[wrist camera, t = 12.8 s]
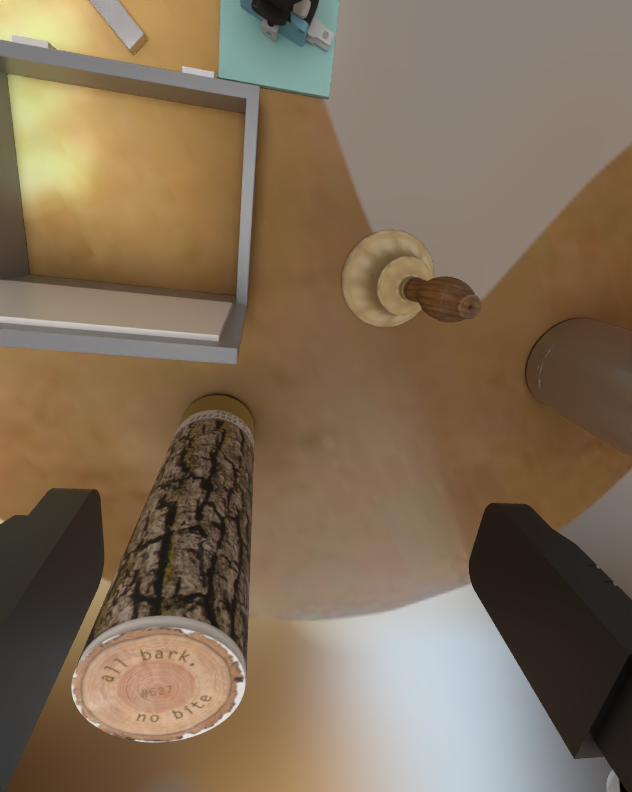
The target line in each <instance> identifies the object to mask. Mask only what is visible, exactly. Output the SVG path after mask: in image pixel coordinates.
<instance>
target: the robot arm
mask: <svg viewBox="0 0 632 792" xmlns="http://www.w3.org/2000/svg"><path fill="white" fill-rule="evenodd" d="M526 380H527V384H528V387H529V389H530V391H531V393H532V395H533V396H534V397H535V398H536V399H537V400H539V401H540V402H542V403H543V404H545V405H547V406H548V407H550V408H551V409H553V410H555V411H556V412H558V413H560V414H561V415H563V416H564V417H566V418H567V419H569V420H570V421H572V422H574V423H575V424H577V425H579V426H580V427H582V428H583V429H585V430H587V431H588V432H590V433H592V434H593V435H595V436H596V437H598V438H600V439H601V440H603V441H605V442H606V443H608V444H609V445H611V446H613V447H614V448H616V449H618V450H619V451H621V452H622V453H624V454H626V455H627V456H629V457H631V458H632V330H628V329H625V328H622V327H618V326H614V325H611V324H607V323H603V322H600V321H596V320H592V319H586V318H577V319H571V320H568V321H565V322H562V323H560V324H558V325H557V326H555V327H553V328H552V329H551V330H549V331H548V332H547V333H545V334H544V336H543V337H542V338H541V339H540V340H539V341H538V342H537V344H536V345H535V347H534V349H533V350H532V352H531V355H530V357H529V360H528V364H527V369H526ZM103 566H104V542H103V528H102V514H101V501H100V495H99V492H98V491H97V490H95V489H64V488H53V489H50V490H49V491H48V492H47V493H46V494H45V496H44V497H43V498H42V499H41V500H40V502H39V503H38V504H37V505H36V507H35V508H34V509H33V510H32V511H31V513H30V514H29V515H28V516H27V515H14V516H13V517H11V518H10V519H8V520H6V521H5V522H3V523H2V524H0V792H5V790H6V788H7V786H8V784H9V781H10V779H11V777H12V775H13V772H14V771H15V768H16V766H17V764H18V761H19V760H20V757H21V755H22V753H23V751H24V748H25V747H26V744H27V742H28V740H29V738H30V736H31V733H32V731H33V729H34V727H35V724H36V722H37V720H38V718H39V716H40V714H41V712H42V709H43V707H44V705H45V703H46V701H47V698H48V696H49V694H50V692H51V690H52V688H53V685H54V683H55V681H56V679H57V677H58V674H59V672H60V670H61V668H62V666H63V664H64V661H65V659H66V657H67V655H68V653H69V650H70V648H71V646H72V644H73V641H74V640H75V637H76V635H77V633H78V631H79V629H80V626H81V624H82V622H83V620H84V618H85V615H86V613H87V611H88V609H89V607H90V605H91V602H92V600H93V598H94V596H95V594H96V592H97V589H98V587H99V584H100V580H101V577H102V572H103ZM469 575H470V580H471V583H472V586H473V588H474V590H475V592H476V593H477V595H478V597H479V599H480V600H481V602H482V604H483V605H484V607H485V609H486V610H487V612H488V614H489V616H490V617H491V619H492V621H493V622H494V624H495V626H496V627H497V629H498V630H499V632H500V634H501V636H502V637H503V639H504V641H505V643H506V644H507V646H508V648H509V649H510V651H511V653H512V654H513V656H514V658H515V659H516V661H517V663H518V665H519V666H520V668H521V670H522V671H523V673H524V675H525V676H526V678H527V680H528V681H529V683H530V685H531V687H532V688H533V690H534V692H535V693H536V695H537V696H538V698H539V700H540V702H541V703H542V705H543V707H544V708H545V710H546V712H547V713H548V715H549V717H550V719H551V720H552V722H553V724H554V725H555V727H556V729H557V730H558V732H559V734H560V735H561V737H562V739H563V741H564V742H565V744H566V746H567V747H568V749H569V751H570V752H571V754H572V756H573V757H574V759H580V758H593V757H605V758H606V760H607V761H608V763H609V765H610V766H611V768H612V771H611V773H610V774H609V776H608V780H607V792H632V600H631V599H630V598H629V597H628V596H627V595H626V594H625V593H624V592H623V591H622V590H621V589H620V588H619V587H618V586H614V584H613V581H612V580H611V579H610V578H609V577H608V576H607V575H606V574H605V573H604V572H603V571H602V570H601V569H597V567H596V564H595V563H594V562H593V561H592V560H591V559H590V558H589V557H588V556H587V555H586V554H585V553H584V552H583V551H582V550H581V549H580V548H579V547H578V546H577V545H576V544H574V543H573V542H572V541H570V540H569V539H567V538H566V537H564V536H562V535H561V534H560V533H558V532H557V531H555V530H553V529H552V528H551V527H550V526H549V525H548V524H547V523H546V522H545V521H544V520H543V519H542V518H541V517H540V516H539V515H538V514H537V513H536V512H535V511H534V509H533V508H531V507H530V506H529V505H526V504H509V503H491V504H489V505H488V506H487V507H486V509H485V511H484V514H483V517H482V520H481V524H480V527H479V530H478V533H477V536H476V540H475V543H474V546H473V549H472V553H471V556H470V560H469Z"/></svg>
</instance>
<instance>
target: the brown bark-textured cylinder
mask: <svg viewBox="0 0 632 792" xmlns="http://www.w3.org/2000/svg"><path fill="white" fill-rule="evenodd" d="M254 431H255V428H254V421H253V418H252V416H251V414H250V412H249V411H248V409H247V408H246V407H245V406H244V405H243V404H242V403H240V402H239V401H237V400H236V399H233V398H231V397H228V396H223V395H211V396H206V397H203V398H201V399H199V400H197V401H195V402H194V403H193V404H192V405H190V407H189V408H188V409H187V410H186V412H185V413H184V415H183V417H182V420H181V422H180V425H179V427H178V429H177V431H176V433H175V436H174V438H173V440H172V443H171V445H170V447H169V450H168V452H167V454H166V457H165V459H164V461H163V464H162V466H161V468H160V471H159V473H158V475H157V478H156V480H155V482H154V485H153V487H152V490H151V492H150V494H149V497H148V499H147V501H146V504H145V506H144V508H143V511H142V513H141V515H140V518H139V520H138V522H137V525H136V527H135V529H134V532H133V534H132V536H131V539H130V541H129V544H128V546H127V548H126V551H125V553H124V555H123V558H122V560H121V562H120V565H119V567H118V569H117V572H116V574H115V576H114V579H113V581H112V583H111V586H110V588H109V591H108V593H107V595H106V598H105V600H104V602H103V605H102V607H101V609H100V612H99V614H98V616H97V619H96V621H95V623H94V626H93V628H92V630H91V633H90V635H89V637H88V640H87V642H86V645H85V647H84V649H83V652H82V654H81V656H80V659H79V661H78V664H77V668H76V670H75V673H74V675H73V679H72V695H73V699H74V702H75V704H76V706H77V708H78V709H79V711H80V712H81V713H82V714H83V716H84V717H85V718H86V719H87V720H88V721H89V722H91V723H92V724H93V725H95V726H96V727H98V728H99V729H101V730H103V731H105V732H107V733H109V734H112V735H114V736H117V737H121V738H124V739H129V740H134V741H141V742H168V741H175V740H181V739H185V738H189V737H192V736H196V735H198V734H201V733H203V732H206V731H208V730H210V729H212V728H213V727H215V726H217V725H218V724H220V723H221V722H223V721H224V720H225V719H226V718H227V717H229V716H230V715H231V713H232V712H233V711H234V710H235V709H236V707H237V706H238V705H239V703H240V701H241V699H242V696H243V694H244V690H245V679H246V670H247V640H248V612H249V583H250V554H251V526H252V497H253V468H254Z"/></svg>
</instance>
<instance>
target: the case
mask: <svg viewBox="0 0 632 792" xmlns="http://www.w3.org/2000/svg"><path fill="white" fill-rule="evenodd" d="M12 40H13V42H10V41H4V40H0V346H7V347H20V348H32V349H45V350H58V351H71V352H84V353H97V354H109V355H122V356H135V357H148V358H161V359H174V360H186V361H199V362H212V363H225V364H237V360H238V355H239V349H240V344H241V339H242V333H243V328H244V323H245V317H246V312H247V307H248V291H249V274H250V258H251V241H252V225H253V209H254V192H255V176H256V160H257V143H258V127H259V110H260V86H255V85H250V84H244V83H239V82H233V81H227V80H222V79H216V77H215V74H214V72H212V71H207V70H201V69H196V68H190V67H185V66H182V72H177V71H172V70H166V69H160V68H155V67H149V66H144V65H138V64H132V63H127V62H121V61H116V60H110V59H105V58H99V57H93V56H88V55H82V54H77V53H71V52H65V51H60V50H56V49H55V48H54V47H53V46H52V45H51V44H50V43H49V42H47V41H41V40H36V39H30V38H25V37H19V36H14V35H12ZM7 74H13V75H19V76H25V77H31V78H37V79H43V80H49V81H55V82H61V83H67V84H73V85H78V86H84V87H90V88H96V89H102V90H108V91H114V92H120V93H126V94H132V95H138V96H144V97H150V98H156V99H162V100H168V101H174V102H180V103H185V104H191V105H197V106H203V107H209V108H215V109H221V110H227V111H233V112H239V113H245V114H246V119H245V139H244V158H243V178H242V197H241V216H240V236H239V255H238V275H237V294H236V296H232V295H222V294H212V293H203V292H193V291H183V290H173V289H164V288H154V287H144V286H134V285H125V284H115V283H105V282H95V281H85V280H76V279H66V278H56V277H46V276H37V275H30V272H29V264H28V255H27V246H26V238H25V229H24V220H23V212H22V203H21V194H20V186H19V177H18V168H17V160H16V151H15V142H14V134H13V125H12V117H11V108H10V99H9V91H8V82H7Z"/></svg>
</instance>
